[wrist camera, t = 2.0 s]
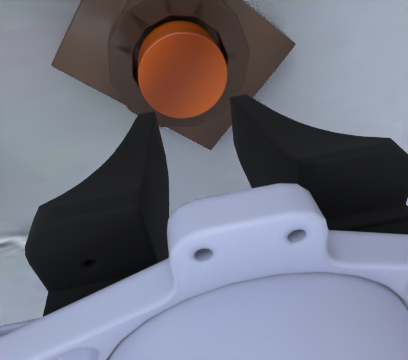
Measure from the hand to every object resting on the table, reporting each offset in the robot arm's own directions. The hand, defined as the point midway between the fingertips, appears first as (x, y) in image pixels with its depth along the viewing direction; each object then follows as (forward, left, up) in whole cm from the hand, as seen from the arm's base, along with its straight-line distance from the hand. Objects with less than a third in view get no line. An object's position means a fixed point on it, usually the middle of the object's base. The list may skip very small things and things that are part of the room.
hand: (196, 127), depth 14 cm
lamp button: (0, 0, -7) cm, 7 cm away
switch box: (0, 0, -10) cm, 10 cm away
